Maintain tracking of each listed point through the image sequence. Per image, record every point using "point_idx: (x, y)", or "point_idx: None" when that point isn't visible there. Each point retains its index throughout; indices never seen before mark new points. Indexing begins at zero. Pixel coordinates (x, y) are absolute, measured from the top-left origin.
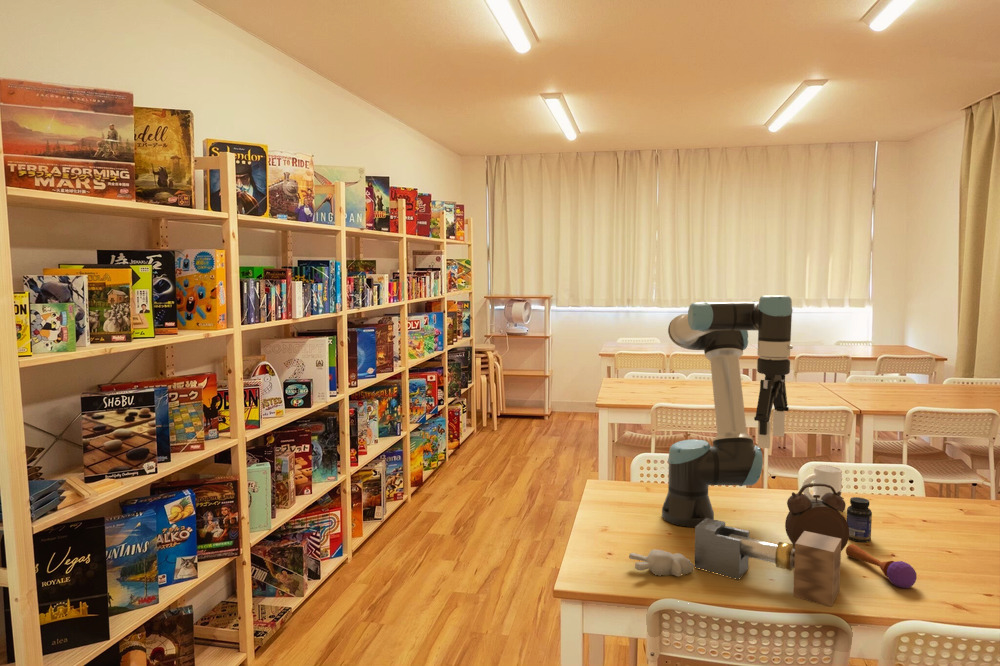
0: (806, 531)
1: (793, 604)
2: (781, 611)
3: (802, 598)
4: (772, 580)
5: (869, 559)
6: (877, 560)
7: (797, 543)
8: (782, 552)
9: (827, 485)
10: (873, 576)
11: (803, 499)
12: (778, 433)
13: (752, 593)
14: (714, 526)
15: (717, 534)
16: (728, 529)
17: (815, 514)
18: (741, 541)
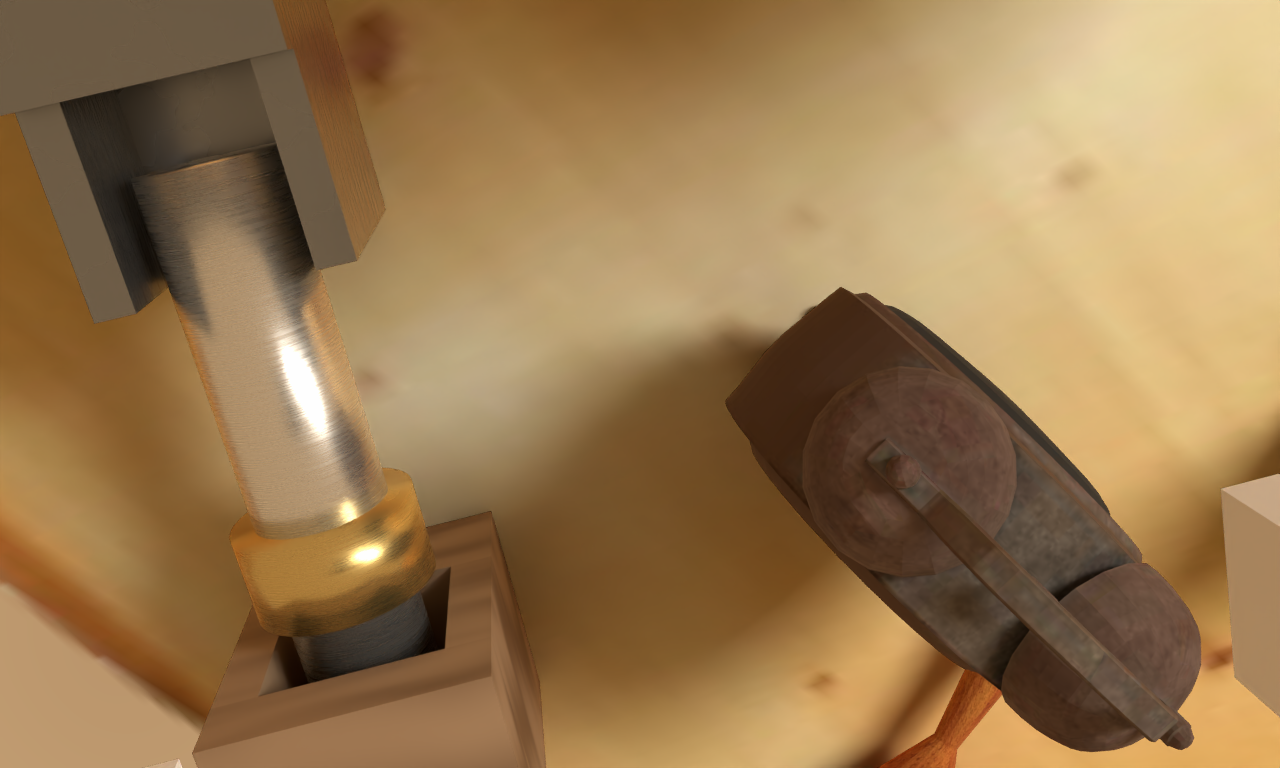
0: (492, 691)
1: (181, 611)
2: (48, 611)
3: None
4: (361, 393)
5: (969, 682)
6: (962, 730)
7: (204, 765)
8: (249, 588)
9: (1131, 724)
10: (858, 709)
11: (880, 557)
12: (1267, 619)
13: (97, 404)
14: (101, 41)
15: (50, 117)
16: (266, 103)
17: (874, 587)
18: (182, 285)
